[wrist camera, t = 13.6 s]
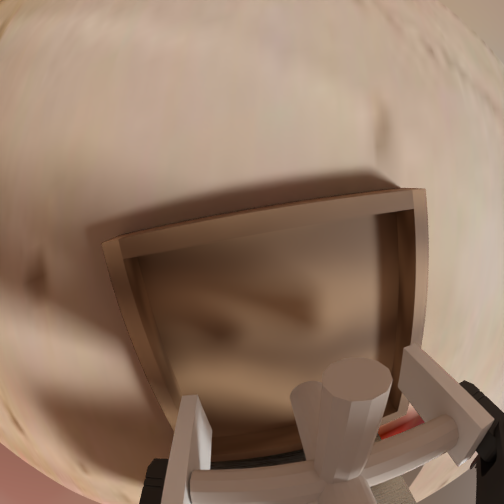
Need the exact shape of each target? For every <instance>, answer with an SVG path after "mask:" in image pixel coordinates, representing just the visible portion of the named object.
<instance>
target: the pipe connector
mask: <svg viewBox="0 0 504 504" xmlns="http://www.w3.org/2000/svg"><path fill="white" fill-rule="evenodd" d="M392 381H393V379H392V376H391V373H390V370H389V368H387V367H386V366H384V365H383V364H381V363H380V362H379V361H376V360H372V359H367V358H363V357H358V358H345V359H342V360H340V361H337V362H335V363H332V364H331V365H330V366H329V367H328V368H327V369H326V370H325V371H324V372H323V374H322V383H321V382H318V381H307V382H303V383H301V384H299V385H298V386H296V387H295V388H294V389H293V390H292V392H291V394H290V401H291V405H292V409H293V412H294V416H295V420H296V424H297V427H298V431H299V435H300V438H301V442H302V446H303V449H304V453H305V457H306V461H301V462H295V463H289V464H283V465H275V466H267V467H257V468H245V469H225V470H194V471H193V472H192V475H191V479H190V494H191V500H192V504H377V502H376V500H375V498H374V495H373V493H372V491H371V488H370V487H371V486H374V485H377V484H379V483H382V482H385V481H387V480H390V479H392V478H395V477H397V476H399V475H402V474H404V473H406V472H409V471H411V470H413V469H415V468H417V467H419V466H421V465H423V464H425V463H427V462H429V461H431V460H433V459H435V458H437V457H439V456H440V455H442V454H444V453H446V452H447V451H449V450H451V449H452V448H453V447H454V446H456V444H457V441H458V438H459V433H458V427H457V425H456V423H455V421H454V419H453V418H451V417H450V416H449V415H447V414H445V415H440V416H438V417H436V418H434V419H432V420H430V421H427V422H425V423H423V424H421V425H419V426H417V427H414V428H412V429H410V430H407V431H405V432H402V433H400V434H397V435H395V436H392V437H389V438H387V439H384V440H381V441H378V442H375V443H374V441H375V438H376V436H377V433H378V430H379V427H380V424H381V420H382V417H383V414H384V411H385V407H386V404H387V400H388V397H389V393H390V389H391V385H392Z"/></svg>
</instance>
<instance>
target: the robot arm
mask: <svg viewBox="0 0 504 504" xmlns="http://www.w3.org/2000/svg"><path fill="white" fill-rule="evenodd" d="M398 388H399V389H400V390H401V392H402V393H403V394H404V396H405V397H406V398H407V399H408V401H409V402H410V403H411V405H412V406H413V407H414V408H415V410H416V411H417V412H418V414H419V415H420V416H421V418H422V419H423V420H424V422H427V421H430V420H432V419H434V418H436V417H438V416H440V415H445V414H447V415H449V416H450V417H451V418H453V419H454V421H455V423H456V425H457V427H458V433H459V438H458V441H457V444H456V446H454V447H453V448H452V449H451V450H449V451H447V452H448V454H449V455H450V456H451V458H452V459H453V461H454V462H455V463H456V465H457V466H460V465H461V464H463V463H464V462H466V461H467V460H469V459H470V458H471V457H472V455H473V454H474V452H475V451H476V452H477V453H478V455H477V456H476V458H475V459H474V461H473V462H472V464H471V466H470V469H472V468H473V467H474V465H475V464H476V466H475V468H476V469H477V490H476V504H504V413H503V412H502V411H501V410H500V409H499V408H498V407H497V406H496V405H495V404H494V403H493V402H492V401H491V400H490V399H489V398H488V397H486V396H485V395H484V394H483V393H482V392H480V390H479V389H478V388H477V387H476V386H475V385H474V384H472V383H469V382H467V381H465V380H464V381H463V382H461V383H458V382H457V381H456V380H454V379H453V378H452V377H451V376H450V375H449V374H448V373H447V372H446V371H445V370H444V369H443V368H442V367H441V366H440V365H439V364H437V363H436V362H435V361H434V360H433V359H432V358H431V357H430V356H429V355H428V354H427V353H426V352H424V351H423V350H422V349H421V348H420V347H419V346H418V345H417V344H416V343H415V344H412V345H410V346H407V347H404V349H403V356H402V363H401V370H400V376H399V382H398ZM211 444H212V428H211V426H210V424H209V421H208V419H207V417H206V414H205V412H204V410H203V407H202V405H201V402H200V400H199V397H198V395H187V396H182V399H181V403H180V408H179V412H178V417H177V422H176V426H175V431H174V436H173V441H172V446H171V451H170V456H169V459H154V460H153V461H152V463H151V464H150V465H149V466H148V469H147V473H146V479H145V481H144V487H143V489H142V494H141V498H140V502H139V504H192V500H191V494H190V479H191V475H192V472H193V471H194V470H210V462H211Z"/></svg>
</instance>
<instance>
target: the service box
mask: <svg viewBox="0 0 504 504" xmlns="http://www.w3.org/2000/svg"><path fill="white" fill-rule="evenodd" d="M378 441H381V438H380V436H379V434H378V433H377V436H376V438H375V441H374V443H375V442H378ZM301 461H306V457H305V453H304V449H301V450H297V451H292V452H287V453H282V454H276V455H270V456H264V457H257V458H249V459H241V460H231V461H217V462H210V470H225V469H245V468H257V467H267V466H275V465H283V464H289V463H295V462H301ZM370 488H371V491H372V493H373V495H374V498H375V500H376V502H377V504H417V503H416V501H415V499H414V498H413V496H412V494H411V492H410V490H409V488H408V487H407V485H406V483H405V481H404V479H403V478H402V476H401V475H399V476H397V477H395V478H392V479H390V480H387V481H385V482H382V483H379V484H377V485H374V486H371V487H370Z"/></svg>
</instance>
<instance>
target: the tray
mask: <svg viewBox="0 0 504 504" xmlns="http://www.w3.org/2000/svg"><path fill="white" fill-rule="evenodd" d="M101 244H102V248H103V252H104V256H105V260H106V264H107V268H108V272H109V275H110V279H111V282H112V285H113V289H114V292H115V295H116V298H117V302H118V305H119V308H120V311H121V314H122V317H123V319H124V322H125V325H126V328H127V331H128V333H129V336H130V339H131V341H132V344H133V346H134V349H135V351H136V354H137V356H138V359H139V361H140V363H141V366H142V368H143V370H144V373H145V375H146V377H147V379H148V381H149V384H150V386H151V388H152V390H153V392H154V394H155V396H156V398H157V400H158V402H159V404H160V406H161V408H162V410H163V412H164V414H165V416H166V418H167V420H168V422H169V423H170V425H171V427H172V429H173V431H175V426H176V422H177V417H178V412H179V408H180V403H181V399H182V396H187V395H198V397H199V400H200V402H201V405H202V407H203V410H204V412H205V414H206V417H207V419H208V421H209V424H210V426H211V428H212V444H211V462H217V461H231V460H241V459H249V458H257V457H264V456H270V455H276V454H282V453H287V452H292V451H297V450H301V449H303V446H302V442H301V438H300V435H299V431H298V427H297V424H296V420H295V416H294V412H293V409H292V405H291V401H290V394H291V392H292V390H293V389H294V388H295V387H296V386H298V385H299V384H301V383H303V382H307V381H318V382H321V383H322V374H323V372H324V371H325V370H326V369H327V368H328V367H329V366H330V365H331V364H332V363H335V362H337V361H340V360H342V359H345V358H358V357H363V358H367V359H372V360H376V361H379V362H380V363H381V364H383V365H384V366H386V367H387V368H389V370H390V373H391V376H392V379H393V381H392V385H391V389H390V393H389V397H388V400H387V404H386V407H385V411H384V414H383V417H382V420H381V424H380V425H383V424H385V423H388V422H390V421H393V420H395V419H397V418H400V417H402V416H404V415H406V413H407V410H408V406H409V401H408V399H407V398H406V397H405V396H404V394H403V393H402V392H401V390H400V389H399V388H398V382H399V376H400V370H401V363H402V356H403V349H404V347H407V346H410V345H412V344H415V343H416V344H417V345H418V346H419V347H420V348H421V345H422V338H423V331H424V323H425V314H426V303H427V289H428V266H429V237H428V214H427V200H426V189H419V188H397V189H387V190H378V191H370V192H361V193H353V194H346V195H338V196H331V197H323V198H316V199H309V200H303V201H296V202H289V203H283V204H277V205H271V206H265V207H259V208H253V209H247V210H241V211H236V212H230V213H225V214H219V215H214V216H209V217H203V218H198V219H193V220H188V221H183V222H178V223H173V224H169V225H164V226H159V227H154V228H150V229H145V230H141V231H136V232H132V233H127V234H123V235H119V236H117V237H115V238H112V239H110V240H107V241H105V242H103V243H101Z"/></svg>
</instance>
